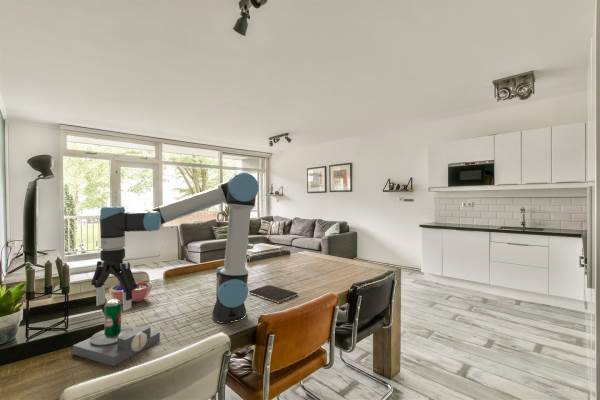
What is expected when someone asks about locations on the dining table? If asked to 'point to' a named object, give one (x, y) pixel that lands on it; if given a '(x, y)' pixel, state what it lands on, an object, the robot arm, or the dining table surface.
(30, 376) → the dining table surface
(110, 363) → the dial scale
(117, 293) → the cell model
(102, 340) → the scale pan
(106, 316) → the soda can
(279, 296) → the hardcover book
